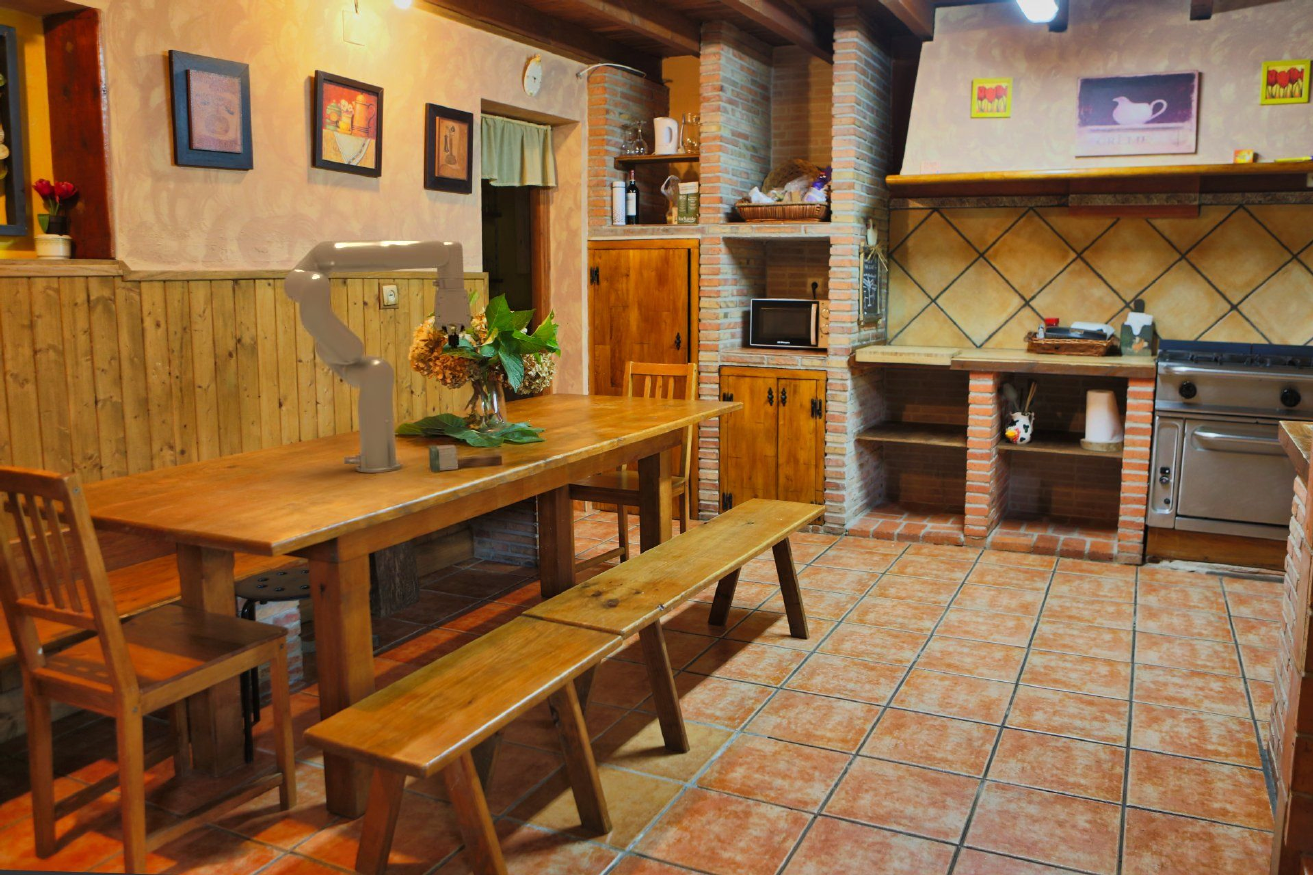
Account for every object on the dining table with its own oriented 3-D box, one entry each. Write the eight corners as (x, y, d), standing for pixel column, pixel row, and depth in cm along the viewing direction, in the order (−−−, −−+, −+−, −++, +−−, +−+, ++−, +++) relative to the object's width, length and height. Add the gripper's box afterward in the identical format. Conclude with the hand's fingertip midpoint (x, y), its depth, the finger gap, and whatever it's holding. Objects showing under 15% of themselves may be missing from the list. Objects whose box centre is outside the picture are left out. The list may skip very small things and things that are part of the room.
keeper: (439, 470, 287) (438, 449, 286) (436, 466, 293) (435, 445, 292) (458, 469, 289) (457, 448, 288) (453, 464, 295) (453, 444, 294)
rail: (434, 472, 286) (433, 450, 285) (429, 466, 293) (428, 445, 292) (504, 466, 292) (503, 445, 291) (498, 461, 300) (497, 440, 299)
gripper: (426, 286, 294) (429, 350, 298) (479, 284, 299) (481, 348, 302) (423, 285, 301) (426, 348, 305) (474, 284, 306) (477, 346, 309)
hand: (453, 348), depth 303 cm, fingers closed
